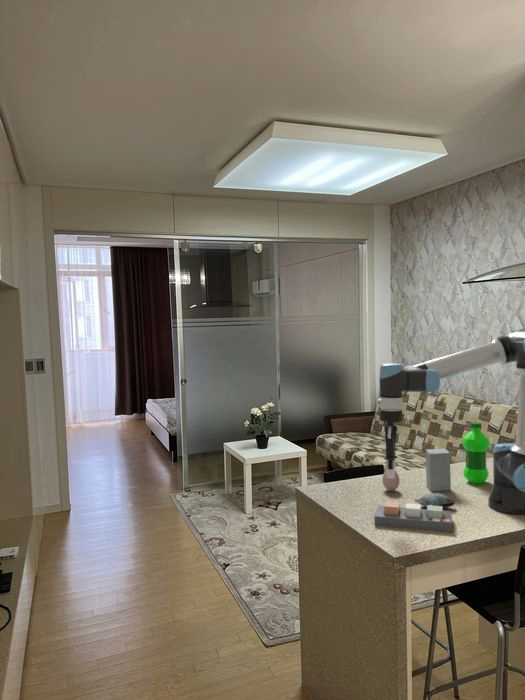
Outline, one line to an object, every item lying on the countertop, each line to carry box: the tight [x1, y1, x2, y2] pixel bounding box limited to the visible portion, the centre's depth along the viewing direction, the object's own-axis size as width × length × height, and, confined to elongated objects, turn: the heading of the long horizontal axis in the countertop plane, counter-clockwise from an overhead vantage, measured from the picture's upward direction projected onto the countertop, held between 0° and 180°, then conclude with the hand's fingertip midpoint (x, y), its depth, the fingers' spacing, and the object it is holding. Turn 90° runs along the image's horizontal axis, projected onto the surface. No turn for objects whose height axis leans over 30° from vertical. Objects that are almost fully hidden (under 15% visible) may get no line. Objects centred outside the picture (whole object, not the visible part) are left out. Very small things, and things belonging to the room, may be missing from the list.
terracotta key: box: [383, 501, 401, 515], centre depth 181 cm, size 5×5×4 cm
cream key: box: [405, 502, 422, 517], centre depth 179 cm, size 5×5×4 cm
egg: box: [381, 470, 400, 492], centre depth 212 cm, size 7×7×9 cm
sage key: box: [426, 505, 444, 519], centre depth 177 cm, size 5×5×4 cm
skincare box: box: [425, 448, 452, 492], centre depth 213 cm, size 8×7×16 cm
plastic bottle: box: [462, 421, 490, 485], centre depth 220 cm, size 10×10×25 cm
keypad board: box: [373, 504, 453, 533], centre depth 179 cm, size 25×11×3 cm, turn 72°
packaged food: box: [413, 492, 456, 510], centre depth 193 cm, size 9×12×5 cm
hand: (390, 477), depth 181 cm, fingers closed
